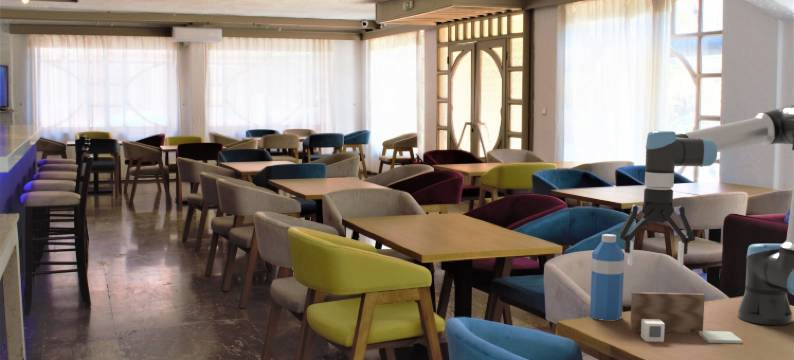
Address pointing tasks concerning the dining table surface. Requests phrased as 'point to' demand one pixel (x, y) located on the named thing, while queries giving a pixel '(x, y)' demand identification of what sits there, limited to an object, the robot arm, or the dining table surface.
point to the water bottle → (607, 279)
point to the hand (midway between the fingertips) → (654, 265)
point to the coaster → (719, 337)
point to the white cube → (652, 330)
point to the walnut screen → (669, 311)
